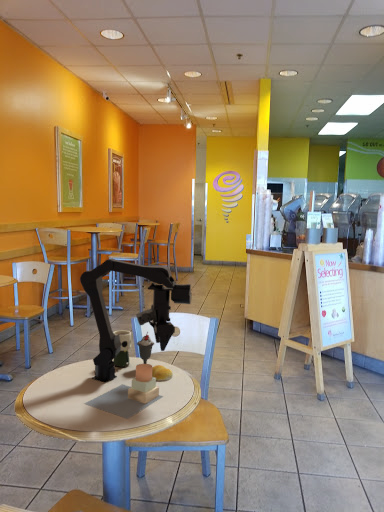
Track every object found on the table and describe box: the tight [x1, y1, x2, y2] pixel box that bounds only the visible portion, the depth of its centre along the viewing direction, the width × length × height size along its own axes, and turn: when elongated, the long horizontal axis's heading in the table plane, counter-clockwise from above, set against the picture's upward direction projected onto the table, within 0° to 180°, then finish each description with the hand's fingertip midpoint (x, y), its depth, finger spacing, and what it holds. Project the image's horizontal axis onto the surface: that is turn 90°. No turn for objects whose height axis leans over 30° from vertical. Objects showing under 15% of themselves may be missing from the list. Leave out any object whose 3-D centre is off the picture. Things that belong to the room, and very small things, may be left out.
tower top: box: [131, 377, 157, 393], centre depth 129 cm, size 6×6×3 cm
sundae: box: [136, 331, 155, 364], centre depth 155 cm, size 7×7×15 cm
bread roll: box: [152, 364, 174, 382], centre depth 148 cm, size 8×9×4 cm
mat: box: [83, 384, 164, 420], centre depth 127 cm, size 17×18×1 cm
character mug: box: [112, 329, 132, 367], centre depth 158 cm, size 11×7×13 cm, turn 149°
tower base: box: [128, 385, 160, 404], centre depth 130 cm, size 7×7×3 cm
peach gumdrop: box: [135, 363, 153, 382], centre depth 129 cm, size 5×5×4 cm
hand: (160, 346), depth 141 cm, fingers open, 9 cm apart
